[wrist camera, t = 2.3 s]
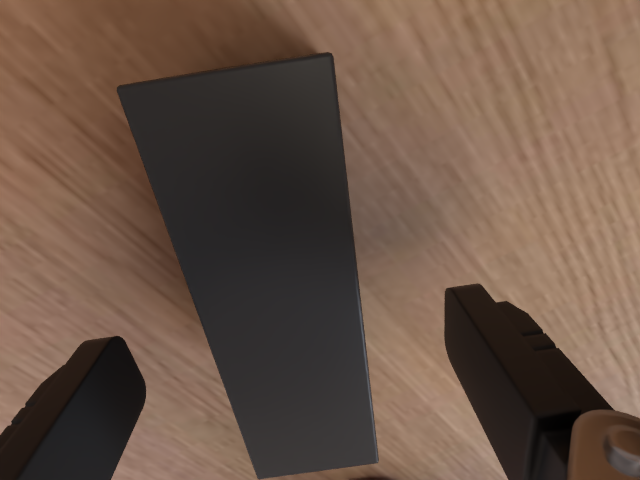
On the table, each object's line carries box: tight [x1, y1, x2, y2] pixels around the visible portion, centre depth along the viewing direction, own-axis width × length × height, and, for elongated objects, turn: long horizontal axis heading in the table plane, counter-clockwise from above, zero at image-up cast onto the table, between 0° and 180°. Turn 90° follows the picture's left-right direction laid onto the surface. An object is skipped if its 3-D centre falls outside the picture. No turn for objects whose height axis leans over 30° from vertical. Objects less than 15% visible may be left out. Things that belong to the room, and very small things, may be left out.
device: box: [117, 52, 379, 479], centre depth 11 cm, size 12×4×4 cm, turn 8°
